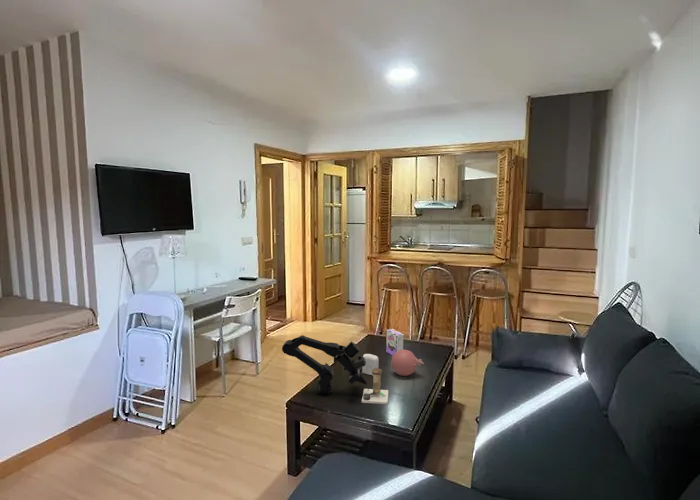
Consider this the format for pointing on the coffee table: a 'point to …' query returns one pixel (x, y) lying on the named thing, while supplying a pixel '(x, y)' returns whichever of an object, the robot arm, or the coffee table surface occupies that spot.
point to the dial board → (376, 397)
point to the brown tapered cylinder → (375, 383)
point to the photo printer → (370, 363)
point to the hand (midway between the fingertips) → (366, 383)
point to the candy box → (393, 341)
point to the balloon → (405, 362)
